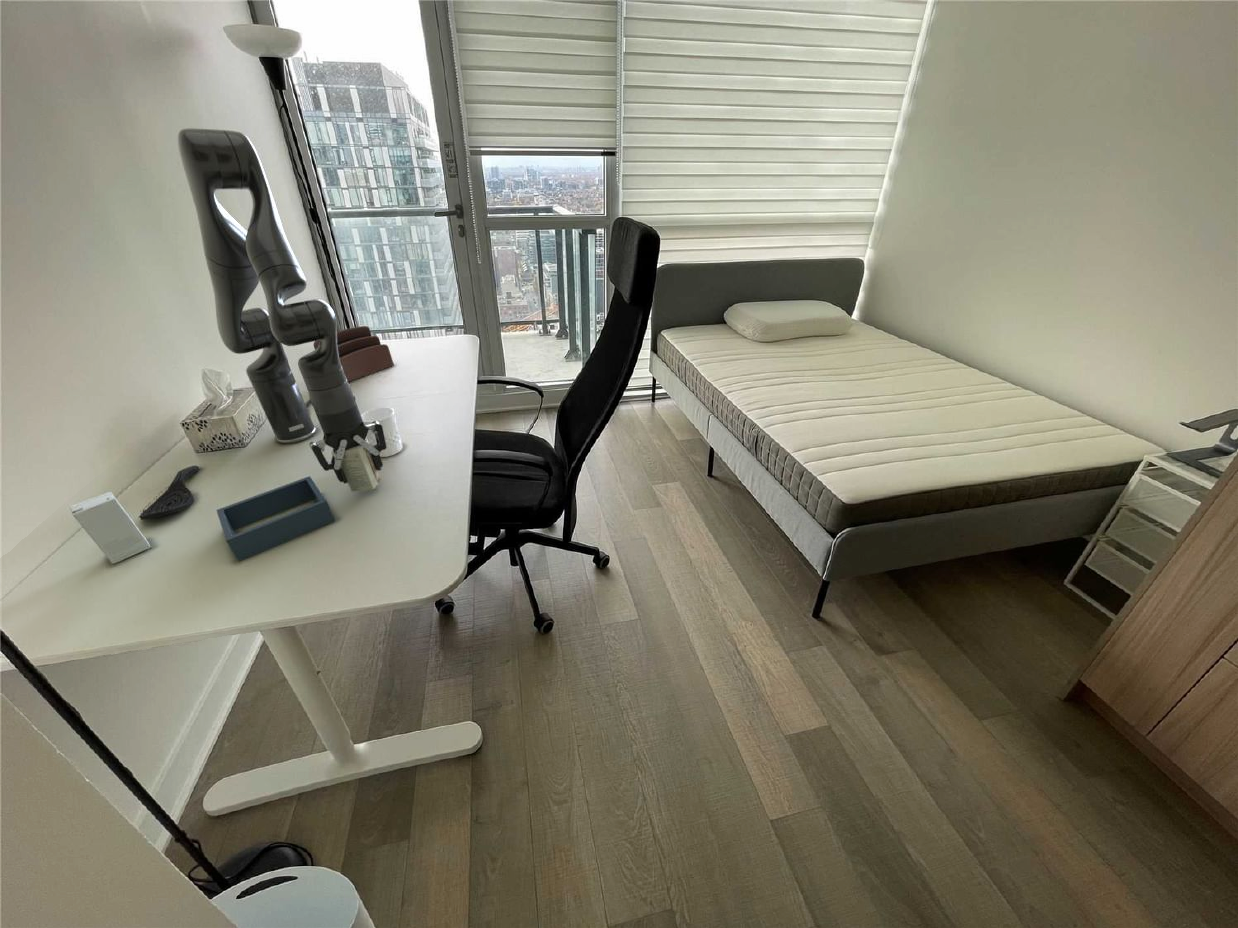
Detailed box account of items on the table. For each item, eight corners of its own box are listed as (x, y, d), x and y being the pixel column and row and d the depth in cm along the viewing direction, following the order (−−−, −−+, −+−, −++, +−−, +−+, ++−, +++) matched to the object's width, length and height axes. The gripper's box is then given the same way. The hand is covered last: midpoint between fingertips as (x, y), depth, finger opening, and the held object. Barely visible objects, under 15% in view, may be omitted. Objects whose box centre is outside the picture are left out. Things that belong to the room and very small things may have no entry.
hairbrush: (209, 454, 125) (173, 505, 104) (216, 467, 126) (182, 519, 106) (168, 462, 122) (124, 516, 102) (176, 476, 124) (134, 531, 103)
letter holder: (325, 379, 172) (310, 338, 165) (378, 361, 185) (366, 322, 178) (341, 385, 167) (325, 343, 159) (394, 365, 180) (382, 326, 173)
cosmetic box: (146, 539, 101) (111, 489, 95) (152, 548, 99) (116, 497, 93) (107, 556, 98) (67, 505, 91) (111, 566, 95) (71, 514, 89)
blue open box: (227, 529, 103) (216, 509, 100) (318, 494, 112) (309, 475, 109) (238, 561, 94) (226, 540, 92) (335, 521, 103) (326, 501, 101)
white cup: (393, 459, 123) (381, 422, 118) (365, 457, 125) (351, 421, 120) (411, 443, 130) (400, 407, 125) (383, 441, 132) (371, 406, 126)
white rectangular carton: (381, 479, 113) (367, 439, 108) (374, 490, 110) (359, 450, 104) (358, 480, 113) (342, 441, 108) (350, 492, 110) (333, 451, 104)
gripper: (365, 389, 108) (388, 456, 117) (291, 411, 100) (321, 482, 109) (378, 399, 103) (401, 469, 112) (300, 423, 95) (331, 496, 104)
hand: (361, 475), depth 110 cm, fingers closed on white rectangular carton, 6 cm apart
